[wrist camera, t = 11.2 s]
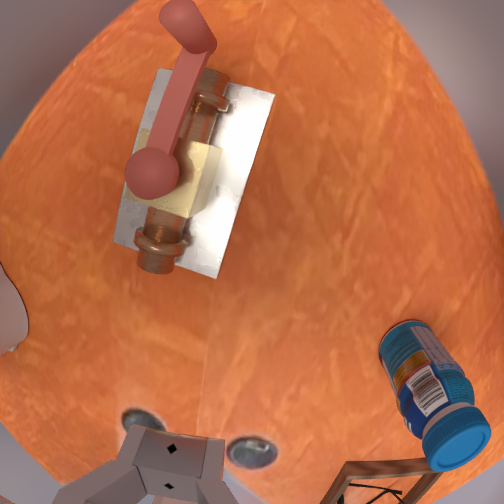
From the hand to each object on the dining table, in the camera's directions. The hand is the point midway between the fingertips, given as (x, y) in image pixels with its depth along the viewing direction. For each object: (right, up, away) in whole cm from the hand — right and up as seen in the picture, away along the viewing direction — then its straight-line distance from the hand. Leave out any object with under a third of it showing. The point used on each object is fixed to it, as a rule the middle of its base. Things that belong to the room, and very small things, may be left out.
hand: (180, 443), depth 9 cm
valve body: (-5, +15, +27) cm, 31 cm away
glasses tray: (+28, -44, +40) cm, 66 cm away
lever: (-4, +18, +16) cm, 24 cm away
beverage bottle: (+23, -6, +30) cm, 38 cm away
